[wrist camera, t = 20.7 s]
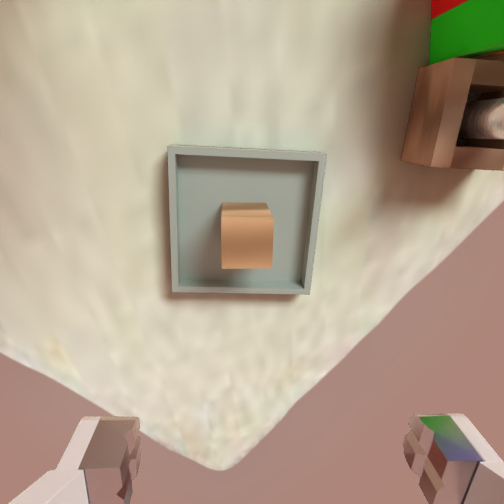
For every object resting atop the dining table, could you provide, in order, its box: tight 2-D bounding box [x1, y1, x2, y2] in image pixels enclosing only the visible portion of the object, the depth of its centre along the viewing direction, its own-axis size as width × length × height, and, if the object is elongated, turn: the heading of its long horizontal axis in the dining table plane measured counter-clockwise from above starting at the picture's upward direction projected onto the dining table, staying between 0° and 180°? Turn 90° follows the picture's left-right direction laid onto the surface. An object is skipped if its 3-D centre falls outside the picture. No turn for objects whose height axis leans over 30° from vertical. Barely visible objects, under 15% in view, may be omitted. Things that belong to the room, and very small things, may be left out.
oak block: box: [221, 203, 274, 269], centre depth 29 cm, size 4×4×6 cm
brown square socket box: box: [401, 57, 504, 171], centre depth 28 cm, size 8×8×5 cm
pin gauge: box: [458, 98, 504, 139], centre depth 25 cm, size 3×3×12 cm
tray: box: [167, 145, 327, 295], centre depth 32 cm, size 13×13×2 cm
